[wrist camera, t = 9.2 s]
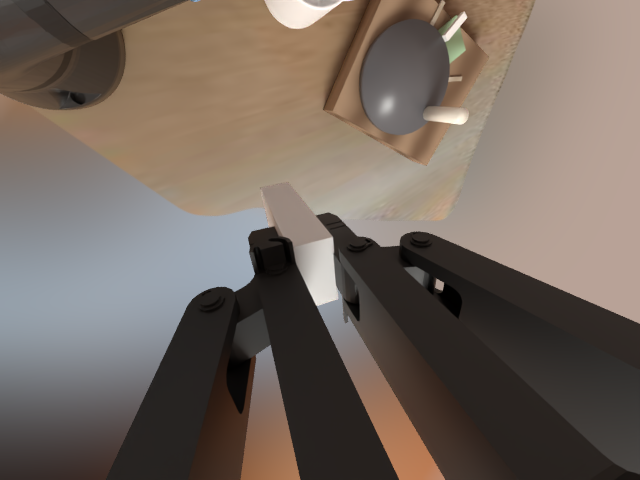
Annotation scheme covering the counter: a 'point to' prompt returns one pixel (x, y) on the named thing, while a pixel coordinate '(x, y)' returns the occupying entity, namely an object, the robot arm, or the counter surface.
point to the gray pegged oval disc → (408, 77)
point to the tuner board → (465, 66)
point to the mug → (300, 11)
